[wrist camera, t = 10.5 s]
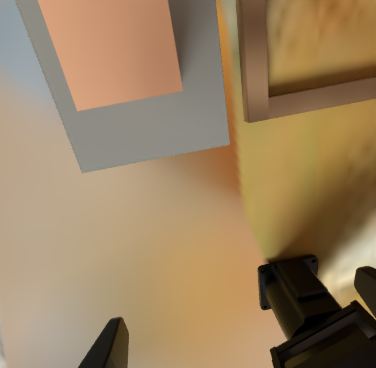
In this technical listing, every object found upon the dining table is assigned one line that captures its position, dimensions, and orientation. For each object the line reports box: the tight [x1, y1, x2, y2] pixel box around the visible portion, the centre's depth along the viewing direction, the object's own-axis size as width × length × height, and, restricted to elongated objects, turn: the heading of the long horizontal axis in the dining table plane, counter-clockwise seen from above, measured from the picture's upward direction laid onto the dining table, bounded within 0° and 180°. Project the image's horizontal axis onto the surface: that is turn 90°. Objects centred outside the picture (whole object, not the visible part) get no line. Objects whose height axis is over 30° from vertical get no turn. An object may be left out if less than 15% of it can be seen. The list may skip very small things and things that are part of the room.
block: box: [38, 0, 183, 111], centre depth 12 cm, size 5×5×6 cm
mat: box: [15, 0, 230, 173], centre depth 15 cm, size 14×12×1 cm
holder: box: [236, 0, 376, 123], centre depth 15 cm, size 11×15×1 cm
